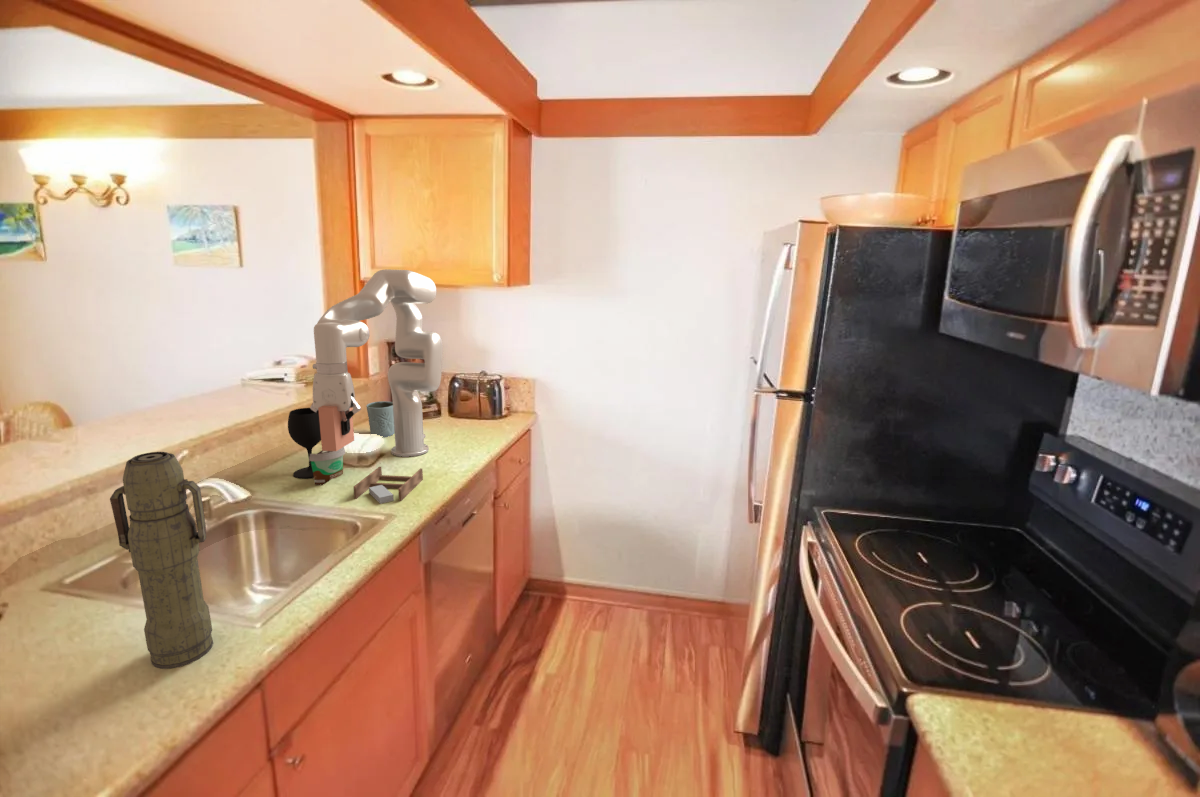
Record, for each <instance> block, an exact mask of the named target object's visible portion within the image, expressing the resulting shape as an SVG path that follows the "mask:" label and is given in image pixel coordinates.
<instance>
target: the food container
mask: <svg viewBox="0 0 1200 797" xmlns="http://www.w3.org/2000/svg"><path fill="white" fill-rule="evenodd" d="M345 454H346V451H345V446H344V447H343V448H341V449H339V450H338V451H322V450H320V451H319V452H317V453H312V454H310V456H309V458H308V462H309V461H311V465H312V470H313V476H314V478H313V481H314V486H324V485H326V484H327V483H328V482H329V481H331V480H333V479H337V478H340V477H341V476H342V475H344V455H345ZM320 484H321V485H320ZM323 484H324V485H323Z"/></svg>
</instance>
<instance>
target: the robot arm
mask: <svg viewBox="0 0 1200 797" xmlns="http://www.w3.org/2000/svg"><path fill="white" fill-rule="evenodd" d="M436 296H437V286H436V284H435V282H434V281H433V279H431V277H428V276H426V275H424V274H421V273H419V272H416V271H413V270H408V269H380V270H377V271H376V272H375V273H374V274H373V275H372V276H371V278H370V279H369V280H367V282H366V284H365V285H363V288H361V290H360V291H359V292H358V293H357V294H354V295H353V296H351V297H347V298H345V299H344V300H342V301H340V302H338V303H336V304H333V305H332V306H331V307H329V308H328V309H327V310H326V311H325V312H324V313H323V315H322V316H321V317H320V318H319V320H318V321H317V323H316V324H314V327H313V338H314V350H315V361H316V362H315V363H313V364H312V369H314V370H316V373H314V375H313V382H312V404H311V405H310V406H309V408H310V409H311V410H313V411H314V412H316V413H317V414H318V415H319V410H318V408H319V407H321V406H337V410H338V411H340V412H341V416H342V420H343V421H341V429H342V435H346V434H348V433H349V432H350V419H351V417H353V416H354V415H355V414H357V413H359V412H360V411H361V410H362V408H361V406H360V405H359V404H358V401H356V394H355V387H354V382H353V379H352V375H351V373H350V372H349V371H348V359H347V358H348V357H347V348H358V347H362V346H364V345H365V344H367V342H368V341H369V339H370V329H369V327H368V326H367V324H365V322H363V321H364V320H369V319H372V318H376V317H379V316H380V315H381V314H382V313H383V312H384V311H385V310H386V308H387V307H388V306H389V304H391V306H392V308H393V309H394V312H395V317H396V320H395V321H396V326H395V341H394V352H395V354H396V356H398V357H399V358H403V359H412V360H413V359H414V360H424V362H423V363H422V362H408V361H401V362H396V363H394V364H392V365H391V366H389V369H388V371H387V381H388V384H389V387H390V392H391V398H392V402H393V415H394V443H395V444H394V445H395V446H393V447H392V448H390V453H391V454H392V455H393V456H395V455H396V456H395V457H401V456H402V458H405V457H407V458H410V457H409V456H411V457H417V456H421V455H424V454H426V453H427V452H429V450H430V449H429V447H430V446H429V445H428V444H425V440H424V439H425V438H426V434H425V433H424V422H423V421H424V418H423V416H424V415H423V403H422V398H421V397H420V395H419V392H426V393H427V392H428V393H429V392H435V391H437V390H438V389H439V388H440V385H441V382H442V373H443V372H442V369H443V360H444V359H443V358H444V344H443V340H442V337H441V335H440V334H439V333H437V332H435V331H428V330H427V331H425V330H423V317H424V316H423V314H422V312H421V311H420V309H419V307H418V306H417V304H425V305H426V304H431V303H432V302H433V301H434V300H435V299H436ZM349 408H352V410H351V411H350V409H349Z"/></svg>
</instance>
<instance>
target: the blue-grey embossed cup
mask: <svg viewBox="0 0 1200 797" xmlns="http://www.w3.org/2000/svg"><path fill="white" fill-rule="evenodd" d="M366 411H367V418H368V425H369V433H370V435H371V434H377V435H380V436H383V437H384V438H389V437H392V436H394V435H395V431H394V415H393V401H389V400H388V401H387V400H385V401H384V400H382V401H374V402H369V403H367V404H366ZM393 434H394V435H393ZM391 435H392V436H391ZM388 436H389V437H388Z"/></svg>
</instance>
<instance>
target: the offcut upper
mask: <svg viewBox="0 0 1200 797" xmlns="http://www.w3.org/2000/svg"><path fill="white" fill-rule="evenodd" d="M368 494H369V495H371V496H372V497H373V498H374V499H375V500H376V501H377V502H378V503H379V504H385V503H389V502H393V501H394V494H393V493H392V492H391V491H390V490H389V489H388V488H385V487H384V486H383V485H378V486H374V487H369V489H368Z"/></svg>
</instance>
